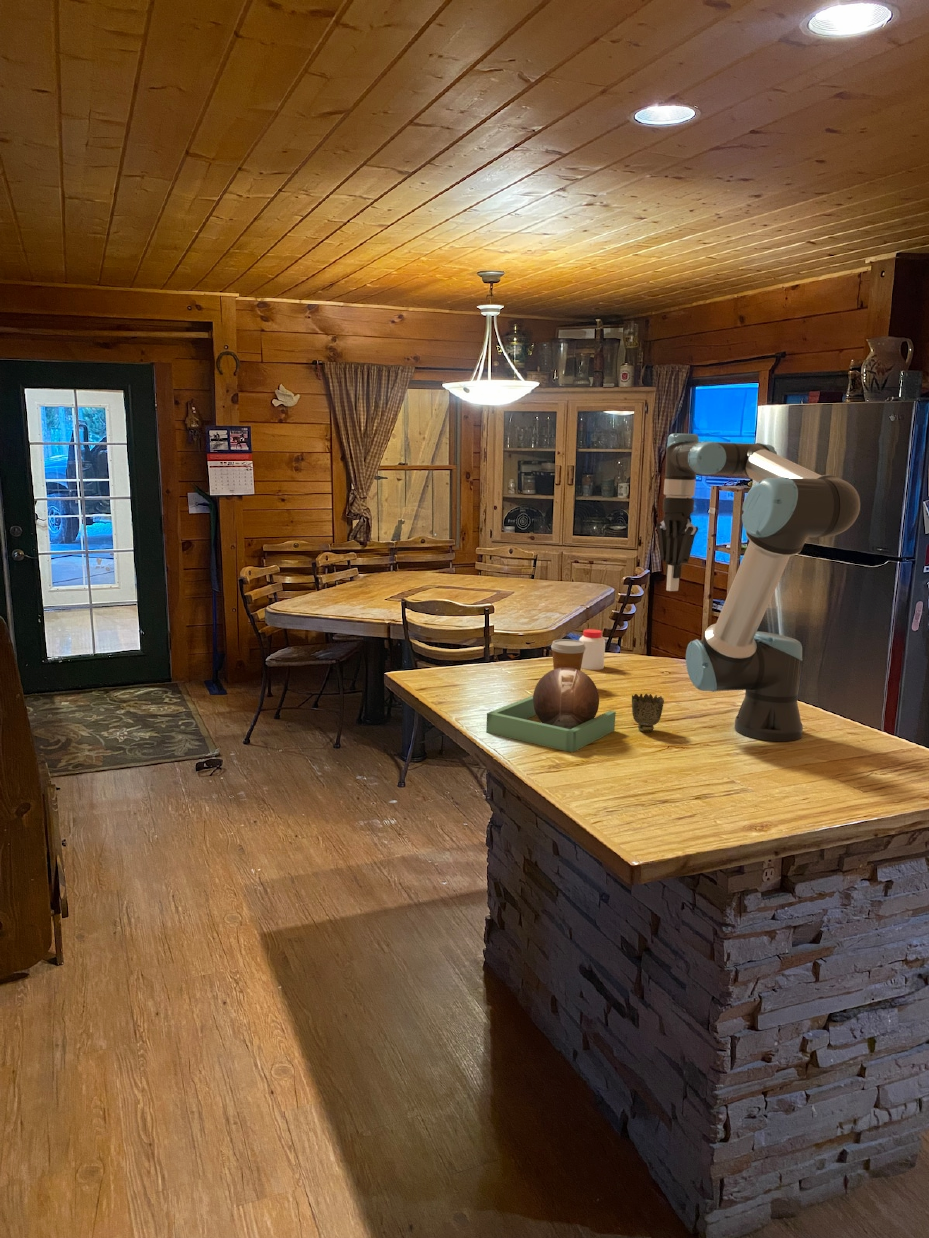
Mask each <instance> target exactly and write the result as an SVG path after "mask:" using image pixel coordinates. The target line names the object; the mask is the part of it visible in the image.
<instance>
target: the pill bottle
mask: <svg viewBox="0 0 929 1238" xmlns="http://www.w3.org/2000/svg"><path fill="white" fill-rule="evenodd" d="M582 631H583V635H581V636H580V637H579V639H578V641H581V642H584V645H585V647H586V649H585V651H584V654H583V659H582V665H581V670H588V671H589V670H590V671H596V670H597V671H599V670H603V669H604V667H605V652H606V639H605V638H604V637H603V631H602V630H599V629H591V628H587V629H584V630H582Z"/></svg>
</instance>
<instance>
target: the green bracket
mask: <svg viewBox="0 0 929 1238" xmlns="http://www.w3.org/2000/svg"><path fill="white" fill-rule="evenodd" d="M616 713H617V711H612V710H608V711H606V712H604V713H602V714H599V715H596V716H595V718H593V719H591V720H589V721H587V722H585V723H583V724H581V725H578V726H576V727H574V728H572V729H566V728H562V727H557V726H553V725H548V724H544V723H542V722H540V721H535V720H534V721H533V720H530V718H532V717H534V716H537V715H536V713H535V710H534V706H533V695H530V696H527V697H524V698H523V699H520V700H517V701H515V702H513V703H510V704H507V705H504V706H502V707H499V708H496V709H493V710H492V711H489V712H487V713H486V731H485V732H486V734H487V733H488V734H492V735H496V736H501V737H505V738H508V739H509V738H510V739H513V740H517V741H521V742H526V743H530V744H534V745H538V746H541V747H542V746H544V747H547V748H551V749H555V750H559V751H562V752H563V751H564V752H568V753H574V752H576V751H578V750H580V749H582V748H584V747H586V746H588V745H590V744H592V743H593V742H595V741H597V740H599V739H601V738H603V737H605V736H607V735H609V734H611V733H613V732H614V731H615V728H616Z"/></svg>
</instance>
